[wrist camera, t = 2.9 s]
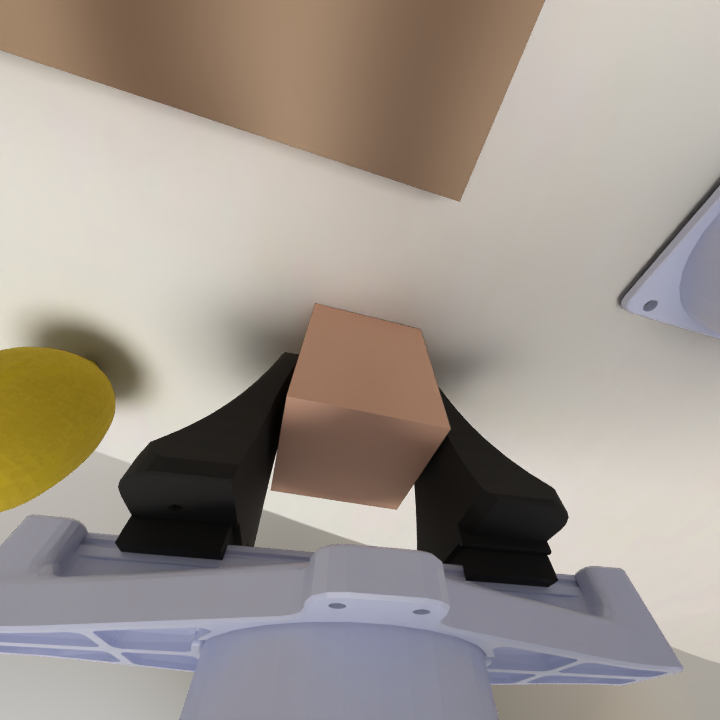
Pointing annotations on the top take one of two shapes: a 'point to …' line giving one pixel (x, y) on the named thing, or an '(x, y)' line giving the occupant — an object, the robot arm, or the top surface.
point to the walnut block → (303, 70)
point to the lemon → (48, 418)
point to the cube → (359, 412)
